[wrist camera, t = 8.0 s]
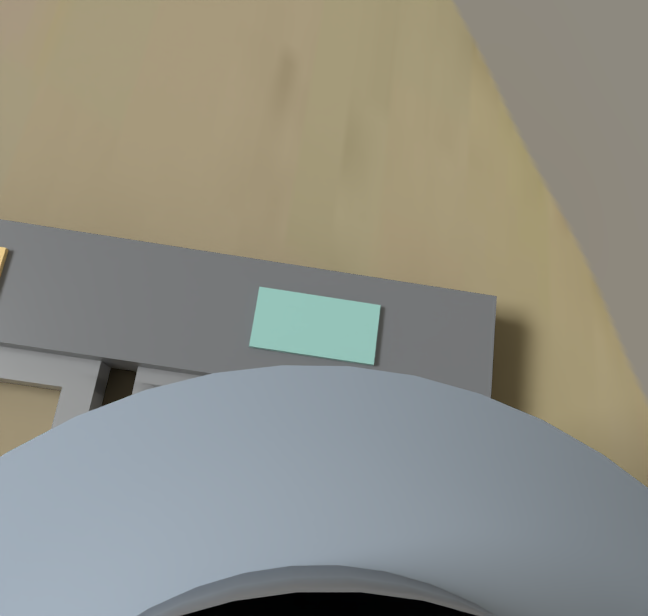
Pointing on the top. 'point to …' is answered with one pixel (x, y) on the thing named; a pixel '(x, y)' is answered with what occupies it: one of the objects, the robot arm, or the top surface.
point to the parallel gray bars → (215, 317)
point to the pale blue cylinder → (317, 505)
